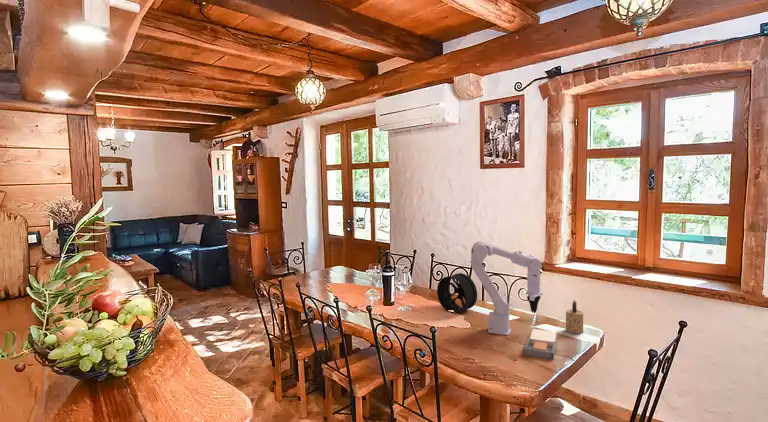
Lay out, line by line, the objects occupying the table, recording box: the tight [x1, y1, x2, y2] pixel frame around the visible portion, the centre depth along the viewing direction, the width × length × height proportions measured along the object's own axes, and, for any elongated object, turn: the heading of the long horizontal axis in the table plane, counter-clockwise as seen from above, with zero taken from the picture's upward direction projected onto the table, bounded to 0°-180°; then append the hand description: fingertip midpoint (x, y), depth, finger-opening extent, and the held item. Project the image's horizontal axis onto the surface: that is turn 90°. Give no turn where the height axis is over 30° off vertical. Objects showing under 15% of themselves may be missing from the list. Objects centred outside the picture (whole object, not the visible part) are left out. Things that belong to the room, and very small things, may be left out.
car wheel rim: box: [436, 272, 478, 314], centre depth 225 cm, size 20×10×20 cm, turn 40°
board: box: [529, 328, 558, 347], centre depth 182 cm, size 10×12×2 cm
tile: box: [533, 342, 547, 351], centre depth 172 cm, size 5×7×2 cm
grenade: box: [565, 299, 584, 335], centre depth 191 cm, size 8×7×15 cm
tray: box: [523, 337, 557, 361], centre depth 171 cm, size 11×12×3 cm
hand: (533, 311), depth 191 cm, fingers closed
